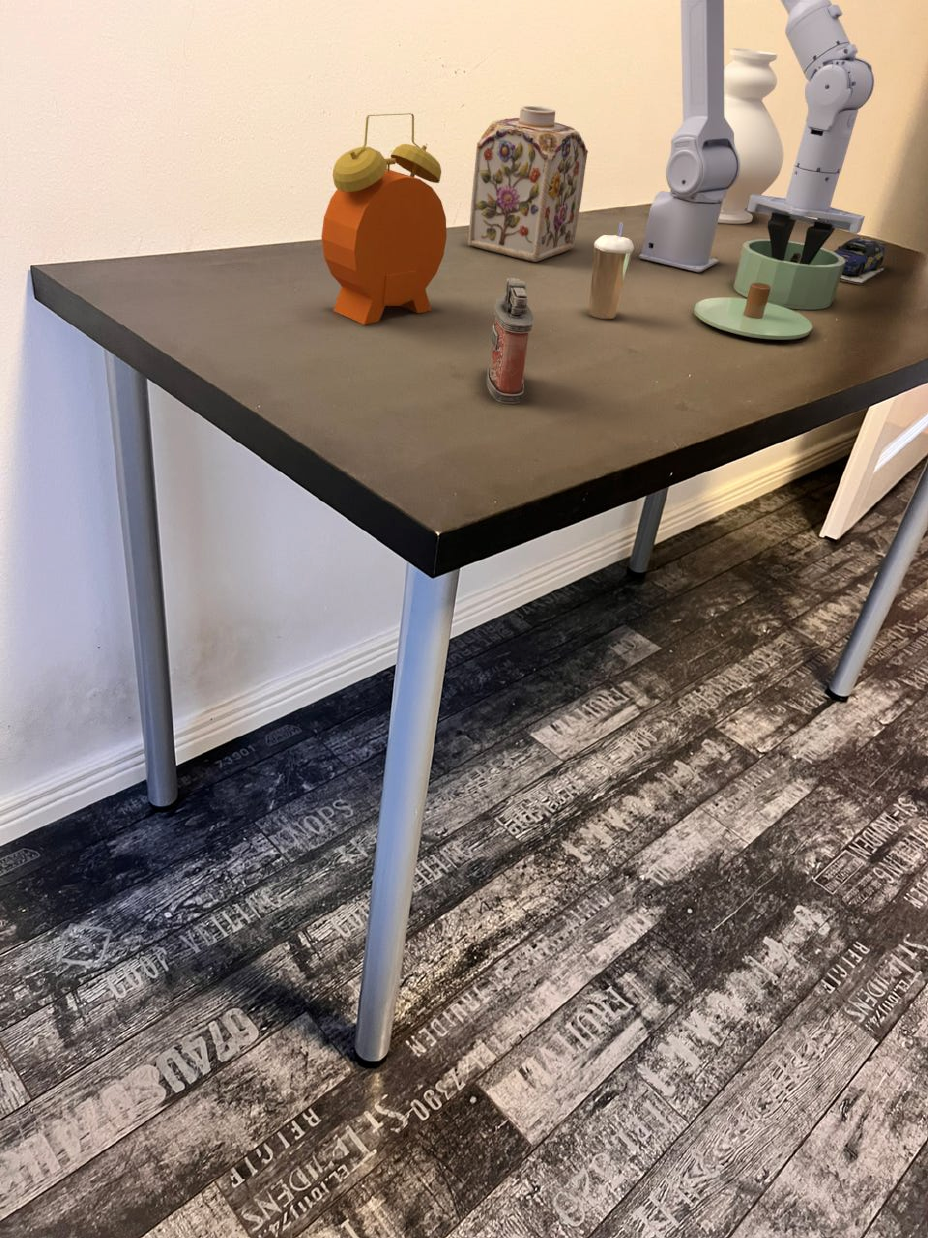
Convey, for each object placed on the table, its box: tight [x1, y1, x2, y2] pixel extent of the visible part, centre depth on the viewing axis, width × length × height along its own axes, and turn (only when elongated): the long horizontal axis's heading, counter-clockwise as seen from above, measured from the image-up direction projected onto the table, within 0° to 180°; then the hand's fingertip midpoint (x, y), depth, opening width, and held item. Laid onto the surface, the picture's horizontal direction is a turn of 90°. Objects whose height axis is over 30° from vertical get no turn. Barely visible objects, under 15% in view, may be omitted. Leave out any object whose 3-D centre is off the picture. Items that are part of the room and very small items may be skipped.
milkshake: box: [588, 222, 635, 320], centre depth 112 cm, size 4×5×10 cm
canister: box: [733, 238, 845, 311], centre depth 128 cm, size 13×13×6 cm
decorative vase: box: [718, 47, 784, 225], centre depth 161 cm, size 18×18×25 cm
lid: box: [693, 283, 813, 341], centre depth 115 cm, size 14×14×5 cm
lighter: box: [486, 277, 534, 405], centre depth 90 cm, size 8×3×10 cm, turn 5°
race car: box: [833, 236, 887, 286], centre depth 142 cm, size 15×7×4 cm, turn 145°
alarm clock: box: [320, 112, 448, 326], centre depth 103 cm, size 13×6×20 cm, turn 134°
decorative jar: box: [467, 105, 589, 263], centre depth 132 cm, size 12×12×18 cm
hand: (786, 277), depth 128 cm, fingers open, 3 cm apart
